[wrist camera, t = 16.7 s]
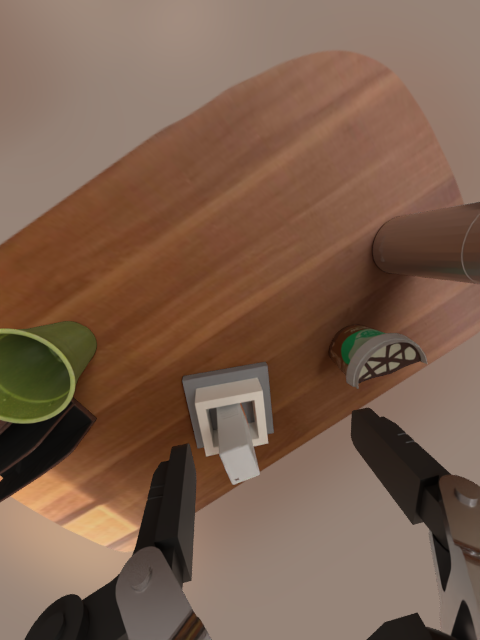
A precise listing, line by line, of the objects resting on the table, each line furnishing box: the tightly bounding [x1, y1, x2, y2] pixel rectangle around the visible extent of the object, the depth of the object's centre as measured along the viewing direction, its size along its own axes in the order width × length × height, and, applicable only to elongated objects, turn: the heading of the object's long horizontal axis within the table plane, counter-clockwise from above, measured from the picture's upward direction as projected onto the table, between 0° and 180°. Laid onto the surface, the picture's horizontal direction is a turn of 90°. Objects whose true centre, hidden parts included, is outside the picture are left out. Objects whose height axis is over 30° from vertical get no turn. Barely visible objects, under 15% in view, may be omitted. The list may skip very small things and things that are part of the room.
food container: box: [329, 324, 427, 389], centre depth 38 cm, size 12×6×10 cm, turn 108°
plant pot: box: [0, 321, 97, 423], centre depth 31 cm, size 12×12×11 cm
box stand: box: [182, 362, 274, 456], centre depth 41 cm, size 15×15×6 cm
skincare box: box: [216, 403, 260, 485], centre depth 36 cm, size 6×4×12 cm
